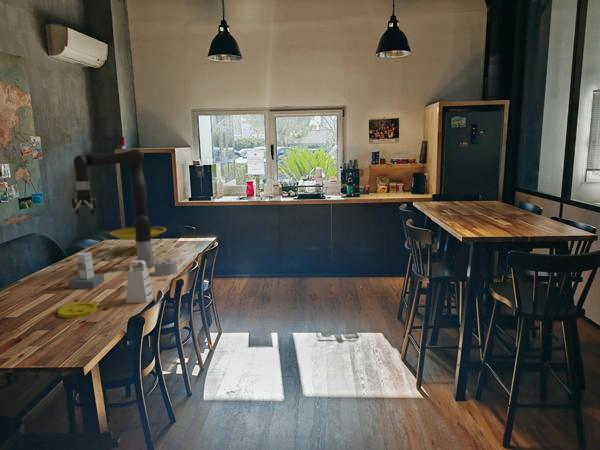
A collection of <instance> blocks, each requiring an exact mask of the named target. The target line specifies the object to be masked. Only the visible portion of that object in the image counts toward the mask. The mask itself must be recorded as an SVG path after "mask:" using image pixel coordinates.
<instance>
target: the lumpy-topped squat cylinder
mask: <svg viewBox="0 0 600 450" xmlns="http://www.w3.org/2000/svg"><path fill="white" fill-rule="evenodd" d="M153 268H154V276H157V277H163V276H162V275H166V276H172V275H175V274H177V273H178V263H177V260H175V259H172V258H167V257H164V258H162V259H157V260H154V265H153ZM171 274H172V275H171Z"/></svg>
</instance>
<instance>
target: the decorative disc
mask: <svg viewBox="0 0 600 450" xmlns="http://www.w3.org/2000/svg"><path fill="white" fill-rule="evenodd" d="M97 311H98V304H97V303H94V302H91V301H87V302H75V303H72V304H66V305H63V307H60V308H58V311H57V315H58V317H59V318H64V319H79V318H81V317H82V318H83V317H86V316H87V317H88V316H91V315H92V314H94V313H96V312H97Z"/></svg>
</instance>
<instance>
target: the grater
mask: <svg viewBox="0 0 600 450" xmlns="http://www.w3.org/2000/svg"><path fill="white" fill-rule="evenodd" d="M138 262H142V263H143V268H138V267H133V265H132V264H133V263H138ZM150 278H151V277H150V273H149V268H146V262H145V261H144V260H137V259H136V260H135V259H134V260H133V259H132V260H131V261H130V262H129V263H128V271H127V279H126V281H127V282H126V297H125V298H126V300H125V302H126V303H127V304H128V303H130V304H131V303H135V304H137V303H145V304H146V303H148V302H149V301H150V300H151V299H152V298H153V297H154V292H153V291H154V290H153V286H152V281H151V279H150Z"/></svg>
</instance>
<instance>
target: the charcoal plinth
mask: <svg viewBox="0 0 600 450" xmlns="http://www.w3.org/2000/svg"><path fill="white" fill-rule="evenodd" d="M104 282H105V274H103V273H102V274H100V273H99V274H96V273H94V277H92V278H90V279H79V274H78V275H77V276H75V277H74V278H72V279H70V280H68V281H67V285H68V290H69V289H71V290H73V289H74V290H77V289H82V290H84V289H85V290H86V289H87V290H88V289H95V288H97V287H98V286H100V285H101V284H102V283H104Z"/></svg>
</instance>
